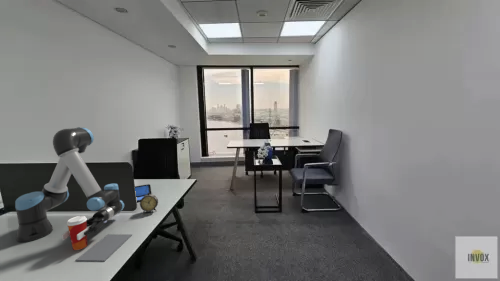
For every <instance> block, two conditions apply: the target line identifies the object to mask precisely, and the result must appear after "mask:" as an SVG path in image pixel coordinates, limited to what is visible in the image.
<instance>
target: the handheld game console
mask: <svg viewBox="0 0 500 281" xmlns="http://www.w3.org/2000/svg"><path fill="white" fill-rule="evenodd" d="M134 187H135V191H136V197H137V202H136V203H140V201H141V199H142V198H143V197H144V196H145V195H148V193H149V194H152V187H151V184H149V183H147V184H142V185H136V186H135V185H134ZM146 189H147V190H146ZM149 189H150V190H151V192H150V190H149ZM146 192H147V193H146Z"/></svg>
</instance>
